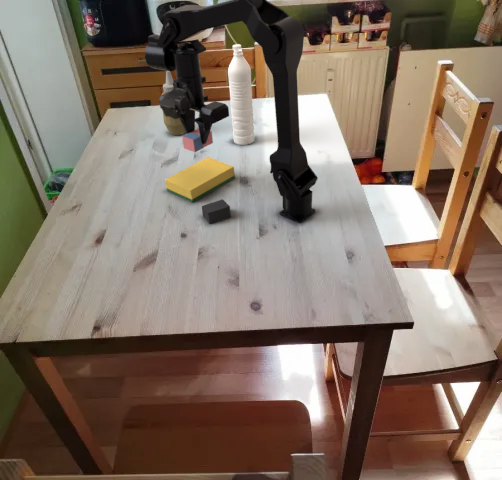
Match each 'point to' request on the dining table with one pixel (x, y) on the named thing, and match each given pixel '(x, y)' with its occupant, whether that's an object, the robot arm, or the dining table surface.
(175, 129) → the squeeze bottle
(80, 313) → the dining table surface
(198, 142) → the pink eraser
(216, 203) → the grey eraser
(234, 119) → the water bottle
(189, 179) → the sponge
